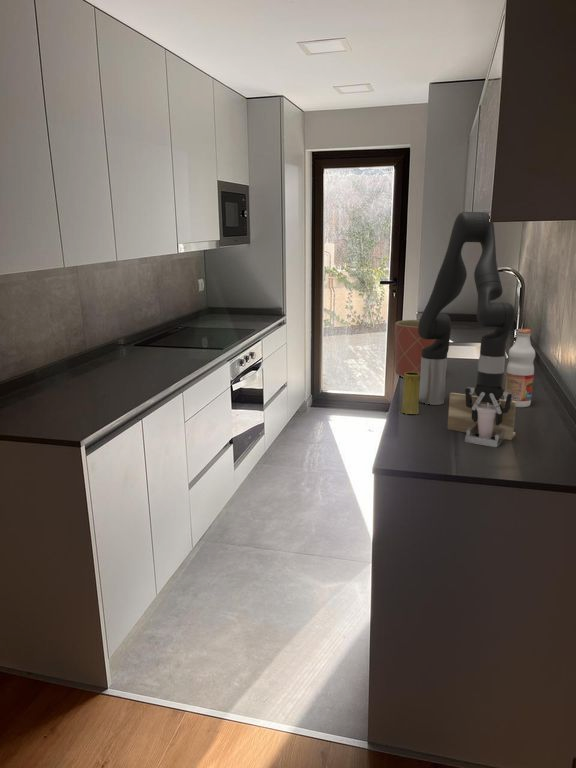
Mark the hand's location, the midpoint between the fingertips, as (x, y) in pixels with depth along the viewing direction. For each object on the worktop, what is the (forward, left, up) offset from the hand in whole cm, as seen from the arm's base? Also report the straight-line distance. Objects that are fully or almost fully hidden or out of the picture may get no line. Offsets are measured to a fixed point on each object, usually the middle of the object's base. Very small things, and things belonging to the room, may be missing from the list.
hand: (486, 422), depth 181 cm
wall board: (-7, -3, -6) cm, 9 cm away
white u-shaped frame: (+1, 0, -6) cm, 6 cm away
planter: (-71, -47, -6) cm, 86 cm away
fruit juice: (-46, 0, -6) cm, 47 cm away
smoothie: (0, 0, -5) cm, 5 cm away
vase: (-15, -30, -6) cm, 34 cm away
